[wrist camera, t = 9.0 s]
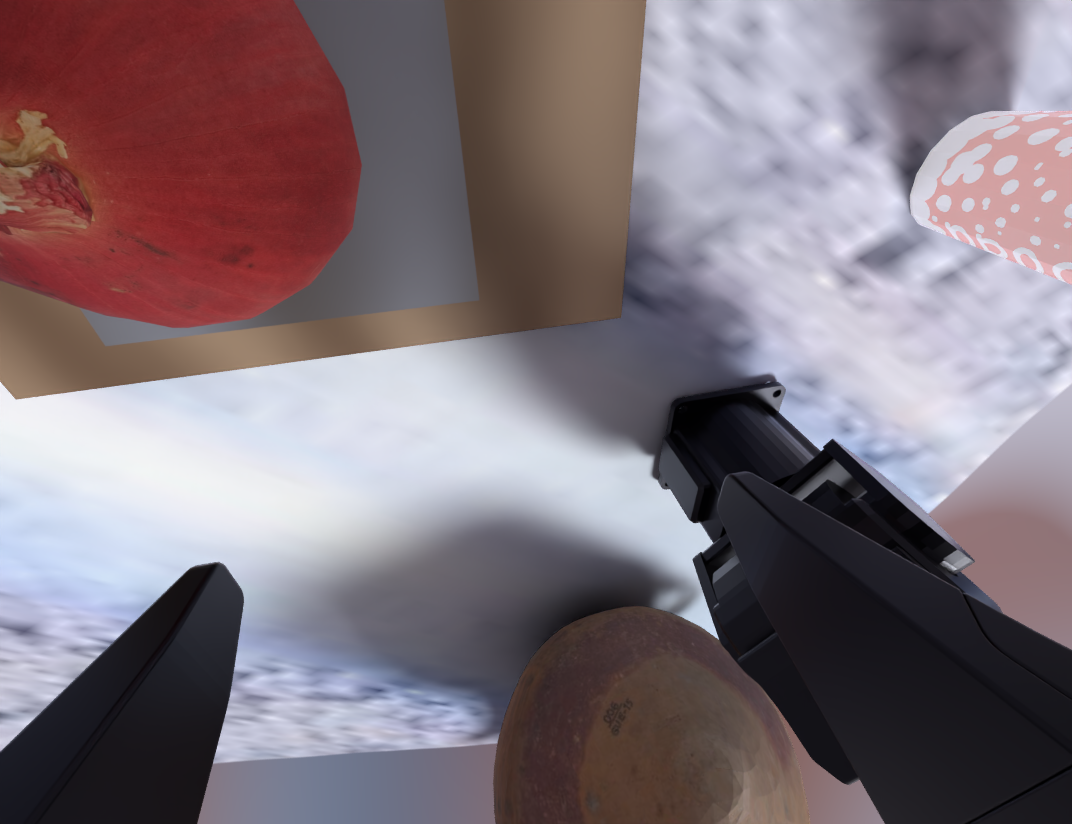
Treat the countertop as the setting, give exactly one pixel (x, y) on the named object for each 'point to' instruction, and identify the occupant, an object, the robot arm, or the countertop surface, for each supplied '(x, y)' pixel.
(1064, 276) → the beverage cup
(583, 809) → the jug
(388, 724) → the countertop surface
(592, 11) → the stacking base
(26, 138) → the onion
